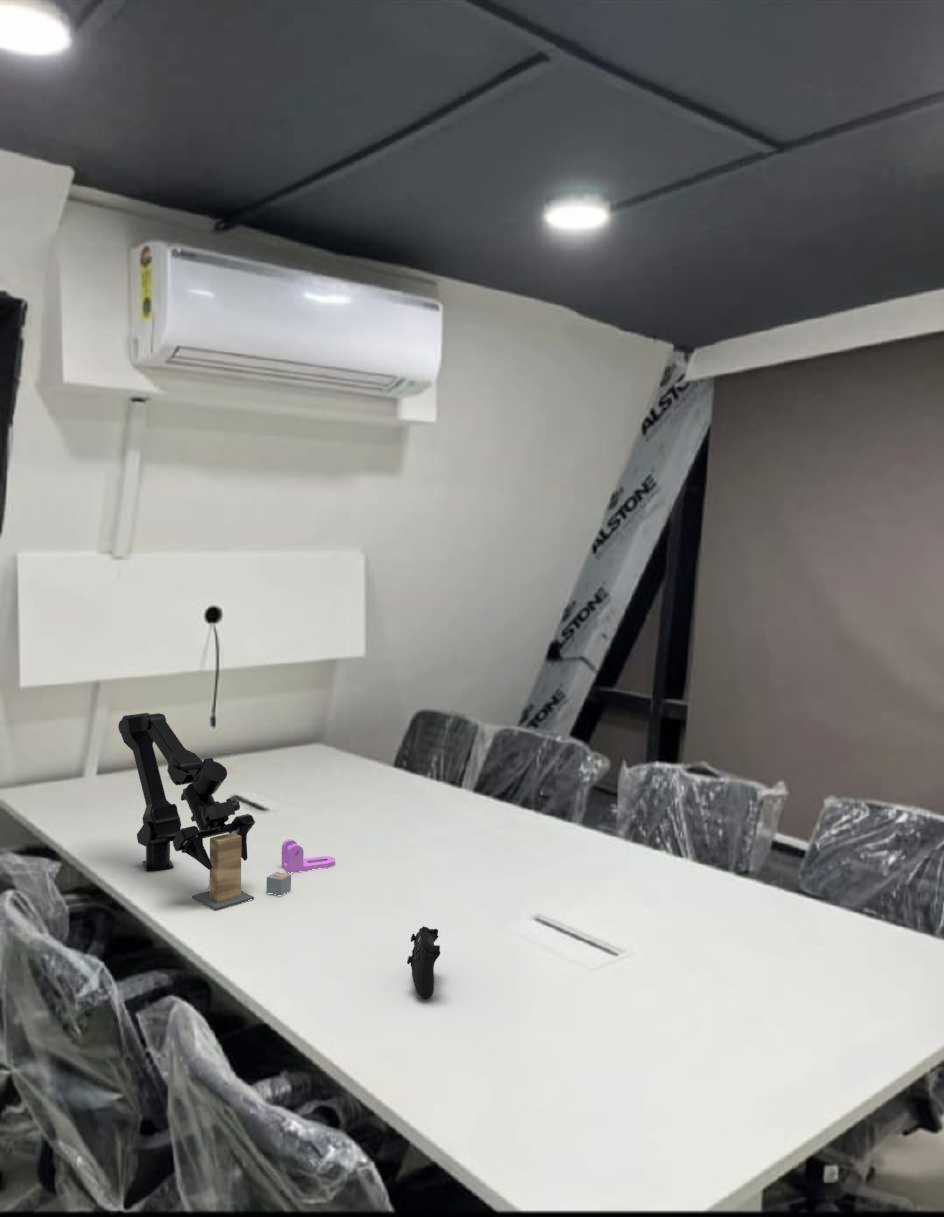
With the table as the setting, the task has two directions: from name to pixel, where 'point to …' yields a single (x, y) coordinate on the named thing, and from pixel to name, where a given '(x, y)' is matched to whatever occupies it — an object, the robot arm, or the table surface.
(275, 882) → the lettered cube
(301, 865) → the bracket
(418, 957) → the gaming controller
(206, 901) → the charcoal mat
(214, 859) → the wooden block
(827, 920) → the table surface
